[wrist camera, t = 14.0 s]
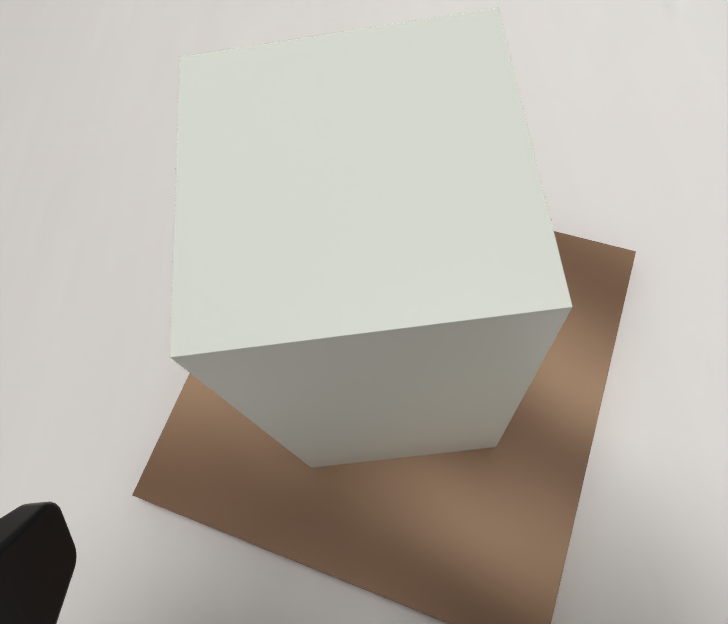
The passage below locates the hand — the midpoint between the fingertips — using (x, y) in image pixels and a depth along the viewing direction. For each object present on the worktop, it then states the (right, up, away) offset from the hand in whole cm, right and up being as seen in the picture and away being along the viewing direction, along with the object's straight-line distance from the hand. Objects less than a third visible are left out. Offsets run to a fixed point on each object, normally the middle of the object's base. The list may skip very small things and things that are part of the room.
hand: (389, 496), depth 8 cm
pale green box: (+1, 0, +13) cm, 13 cm away
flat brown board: (+1, 0, +14) cm, 14 cm away
